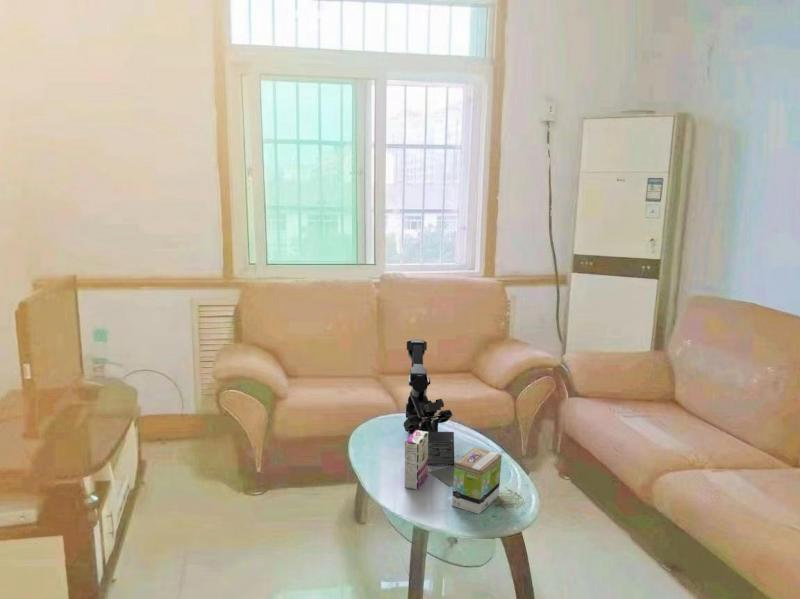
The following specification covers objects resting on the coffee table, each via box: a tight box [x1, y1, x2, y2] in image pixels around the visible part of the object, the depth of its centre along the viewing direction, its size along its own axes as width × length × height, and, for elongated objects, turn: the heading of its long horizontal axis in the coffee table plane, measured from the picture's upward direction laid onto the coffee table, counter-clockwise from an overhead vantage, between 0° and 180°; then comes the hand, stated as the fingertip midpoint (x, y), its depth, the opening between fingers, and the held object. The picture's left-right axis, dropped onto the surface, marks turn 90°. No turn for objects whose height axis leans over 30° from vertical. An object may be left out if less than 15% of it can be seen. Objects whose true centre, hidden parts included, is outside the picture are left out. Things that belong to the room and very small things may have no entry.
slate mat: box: [428, 464, 455, 487], centre depth 216 cm, size 12×16×1 cm
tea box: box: [451, 446, 503, 515], centre depth 197 cm, size 15×10×15 cm, turn 148°
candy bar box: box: [404, 430, 429, 491], centre depth 208 cm, size 11×5×16 cm, turn 160°
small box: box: [428, 431, 455, 466], centre depth 223 cm, size 11×6×10 cm, turn 86°
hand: (436, 440), depth 226 cm, fingers closed
